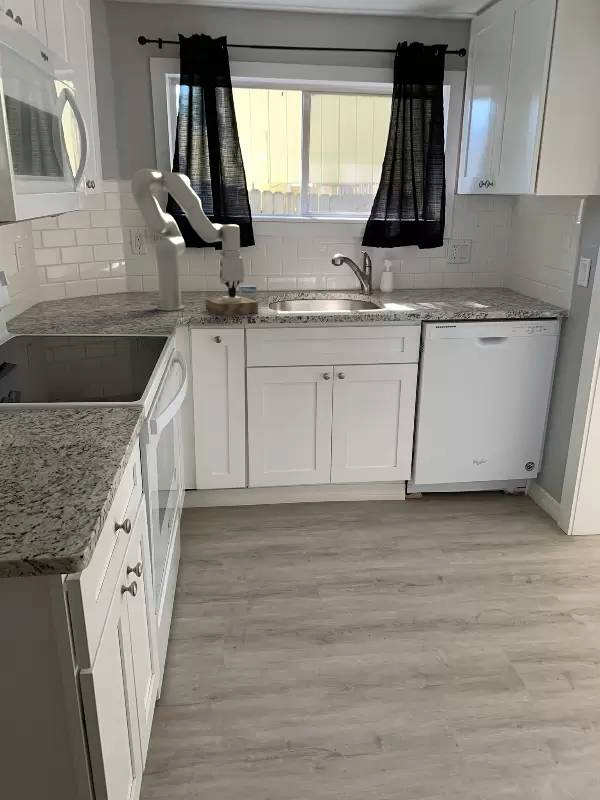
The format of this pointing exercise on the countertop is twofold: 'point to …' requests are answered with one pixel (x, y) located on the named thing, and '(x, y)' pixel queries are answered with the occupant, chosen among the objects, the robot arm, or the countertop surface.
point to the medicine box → (248, 292)
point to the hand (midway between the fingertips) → (232, 296)
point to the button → (231, 298)
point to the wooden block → (231, 306)
